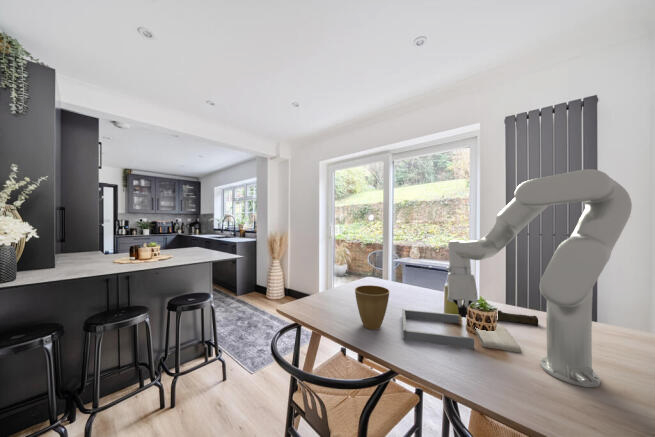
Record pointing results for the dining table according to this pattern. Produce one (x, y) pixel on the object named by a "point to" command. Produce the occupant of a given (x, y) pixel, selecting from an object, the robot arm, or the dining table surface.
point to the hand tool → (517, 318)
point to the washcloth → (498, 339)
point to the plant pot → (372, 305)
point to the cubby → (433, 337)
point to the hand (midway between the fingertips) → (463, 316)
